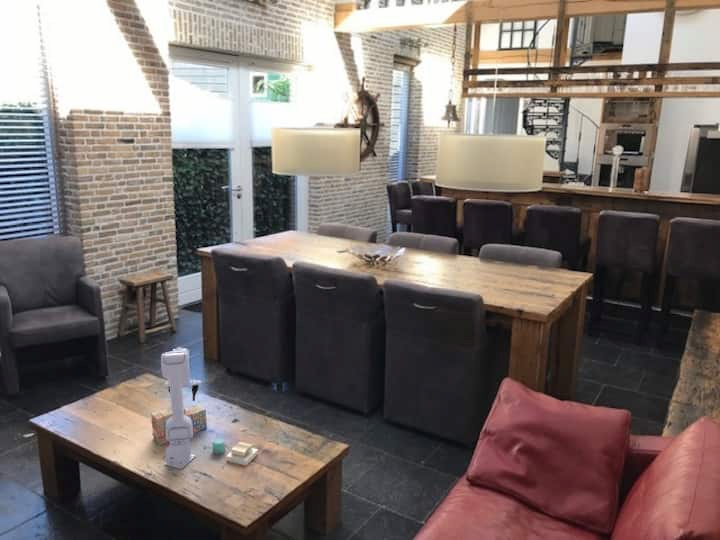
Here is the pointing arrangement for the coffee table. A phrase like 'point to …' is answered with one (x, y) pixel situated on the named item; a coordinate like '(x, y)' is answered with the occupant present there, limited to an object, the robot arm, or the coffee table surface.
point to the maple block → (241, 449)
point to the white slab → (242, 460)
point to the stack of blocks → (162, 416)
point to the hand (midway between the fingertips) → (184, 400)
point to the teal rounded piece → (218, 446)
